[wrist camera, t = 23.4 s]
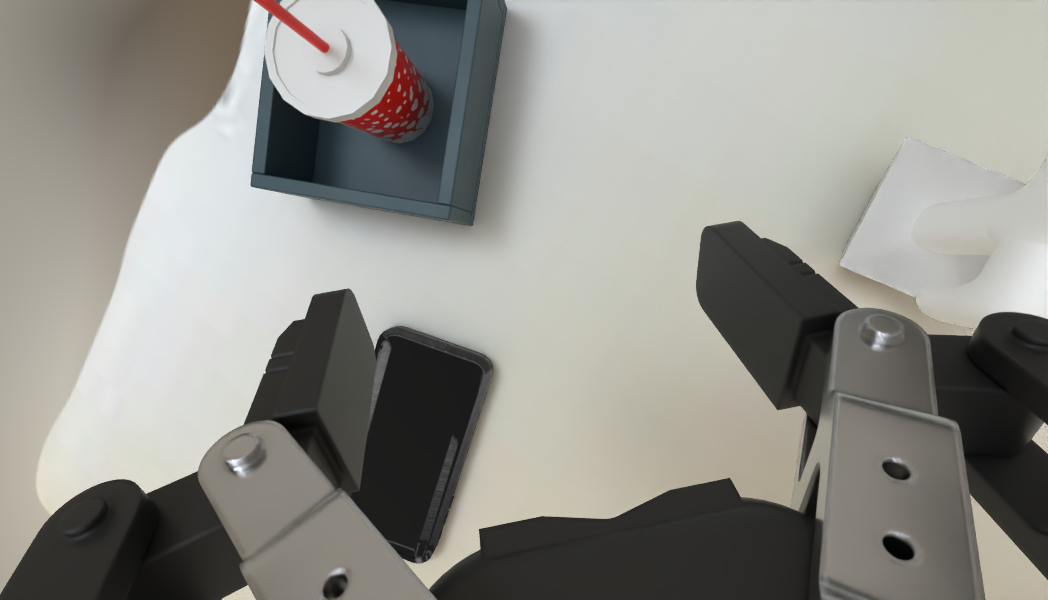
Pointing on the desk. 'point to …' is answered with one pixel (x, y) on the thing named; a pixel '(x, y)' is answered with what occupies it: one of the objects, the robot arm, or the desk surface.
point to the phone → (418, 436)
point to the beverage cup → (346, 67)
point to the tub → (385, 167)
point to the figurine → (955, 237)
